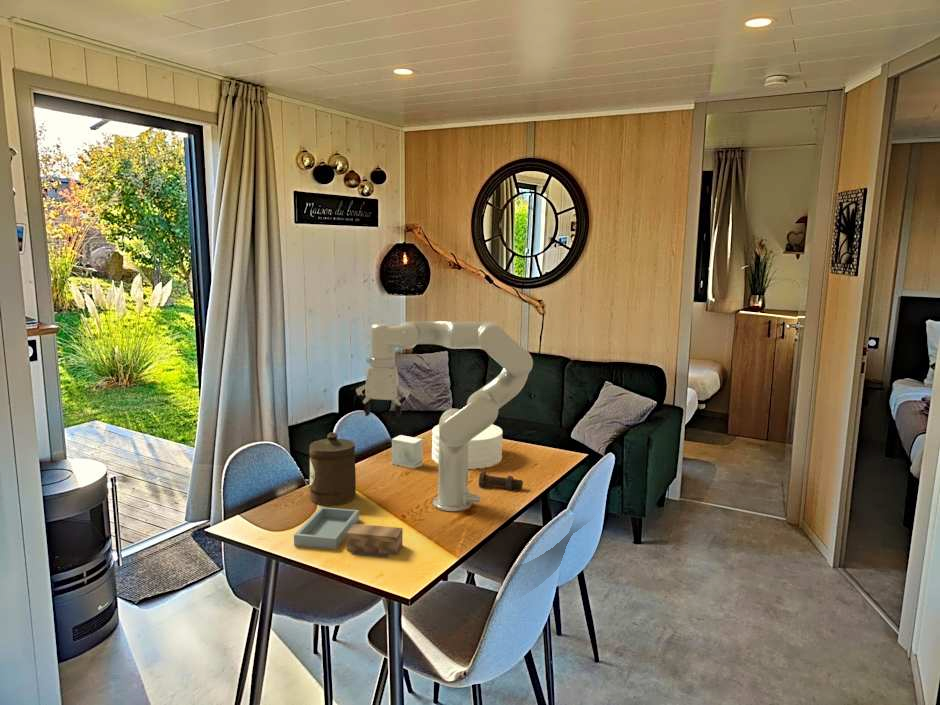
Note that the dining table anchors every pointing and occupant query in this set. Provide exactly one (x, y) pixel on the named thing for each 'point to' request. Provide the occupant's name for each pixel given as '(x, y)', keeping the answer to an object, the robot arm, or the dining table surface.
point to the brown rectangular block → (374, 539)
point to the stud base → (370, 554)
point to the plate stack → (477, 447)
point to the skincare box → (407, 451)
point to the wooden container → (332, 471)
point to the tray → (326, 528)
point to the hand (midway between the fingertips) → (382, 415)
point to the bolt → (499, 481)
